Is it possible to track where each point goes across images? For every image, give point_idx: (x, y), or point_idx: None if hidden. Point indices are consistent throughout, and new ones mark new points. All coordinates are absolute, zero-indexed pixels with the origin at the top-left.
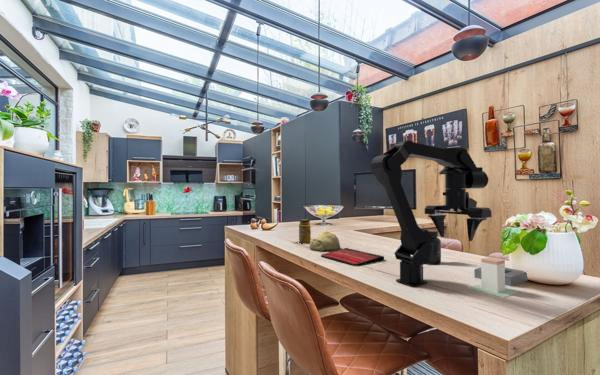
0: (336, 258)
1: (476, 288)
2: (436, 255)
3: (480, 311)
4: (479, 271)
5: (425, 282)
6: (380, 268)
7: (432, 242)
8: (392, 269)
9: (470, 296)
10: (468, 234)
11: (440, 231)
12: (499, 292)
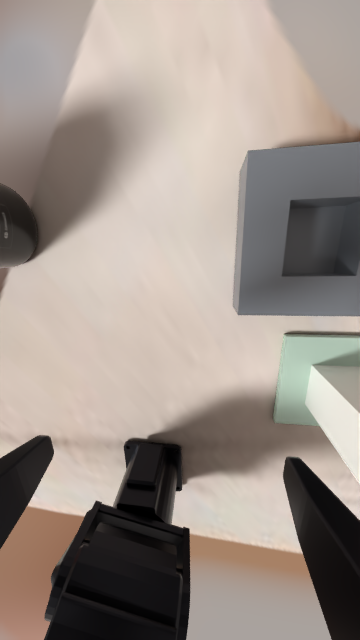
0: None
1: (294, 413)
2: (5, 238)
3: (352, 511)
4: (258, 313)
5: (181, 456)
6: (19, 422)
7: (175, 628)
8: (38, 407)
9: (299, 453)
10: (316, 573)
11: (17, 519)
12: None
